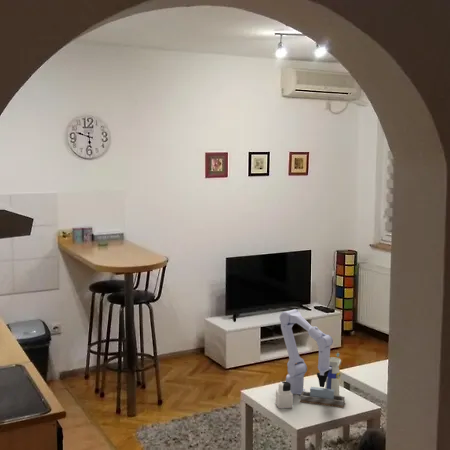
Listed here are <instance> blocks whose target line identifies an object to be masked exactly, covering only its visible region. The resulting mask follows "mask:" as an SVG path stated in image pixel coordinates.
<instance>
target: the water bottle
mask: <svg viewBox="0 0 450 450" xmlns="http://www.w3.org/2000/svg"><path fill="white" fill-rule="evenodd" d="M334 354H335V356H336V357H334V356H331V357H330V364H329V367H332V369H331V370H329V372H328V376H327V380H326V382H325V386H324V388H326V389H333V390H334V395H335V396H340V378H341V371H340V368H339V367H340V366H342V359H341V358H340V355H341V353H339V352H338V351H337V353H334Z"/></svg>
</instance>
